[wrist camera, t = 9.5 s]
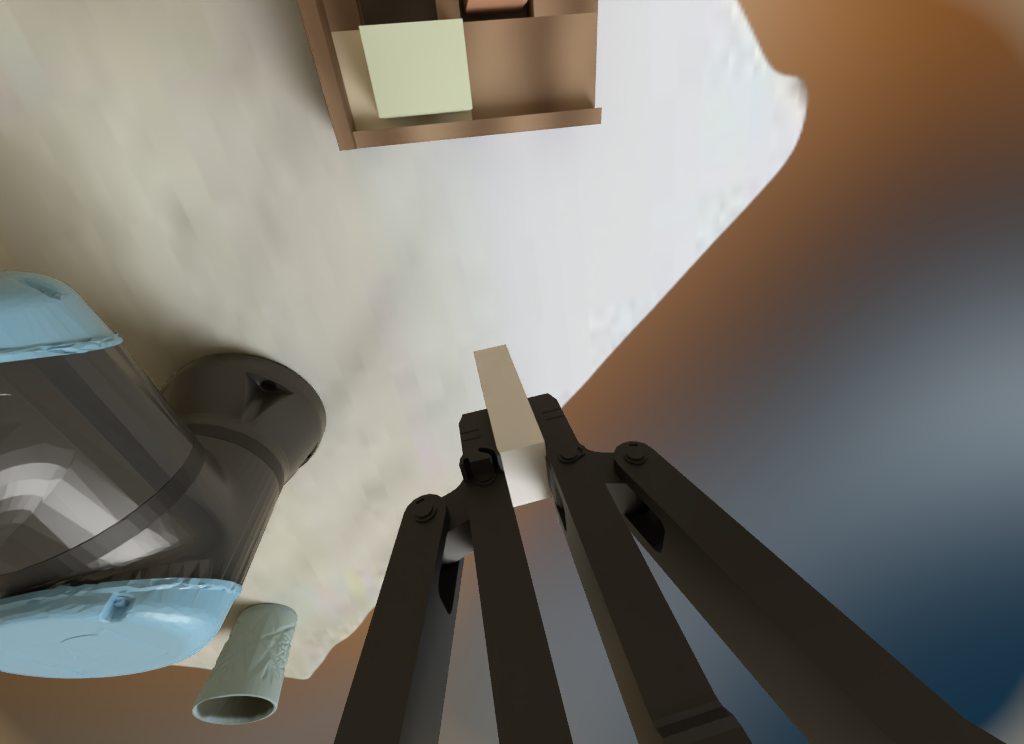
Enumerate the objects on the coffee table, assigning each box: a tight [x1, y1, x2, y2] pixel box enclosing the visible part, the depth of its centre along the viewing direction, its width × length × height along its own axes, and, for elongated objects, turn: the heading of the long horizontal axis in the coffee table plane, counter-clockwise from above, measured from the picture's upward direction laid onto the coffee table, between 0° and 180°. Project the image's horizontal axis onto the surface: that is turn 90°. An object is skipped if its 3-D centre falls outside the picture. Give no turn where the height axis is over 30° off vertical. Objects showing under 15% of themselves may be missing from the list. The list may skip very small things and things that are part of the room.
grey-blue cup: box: [192, 604, 297, 724], centre depth 57 cm, size 10×10×12 cm
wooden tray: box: [297, 0, 602, 151], centre depth 26 cm, size 19×13×5 cm
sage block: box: [359, 19, 473, 119], centre depth 25 cm, size 6×4×4 cm
